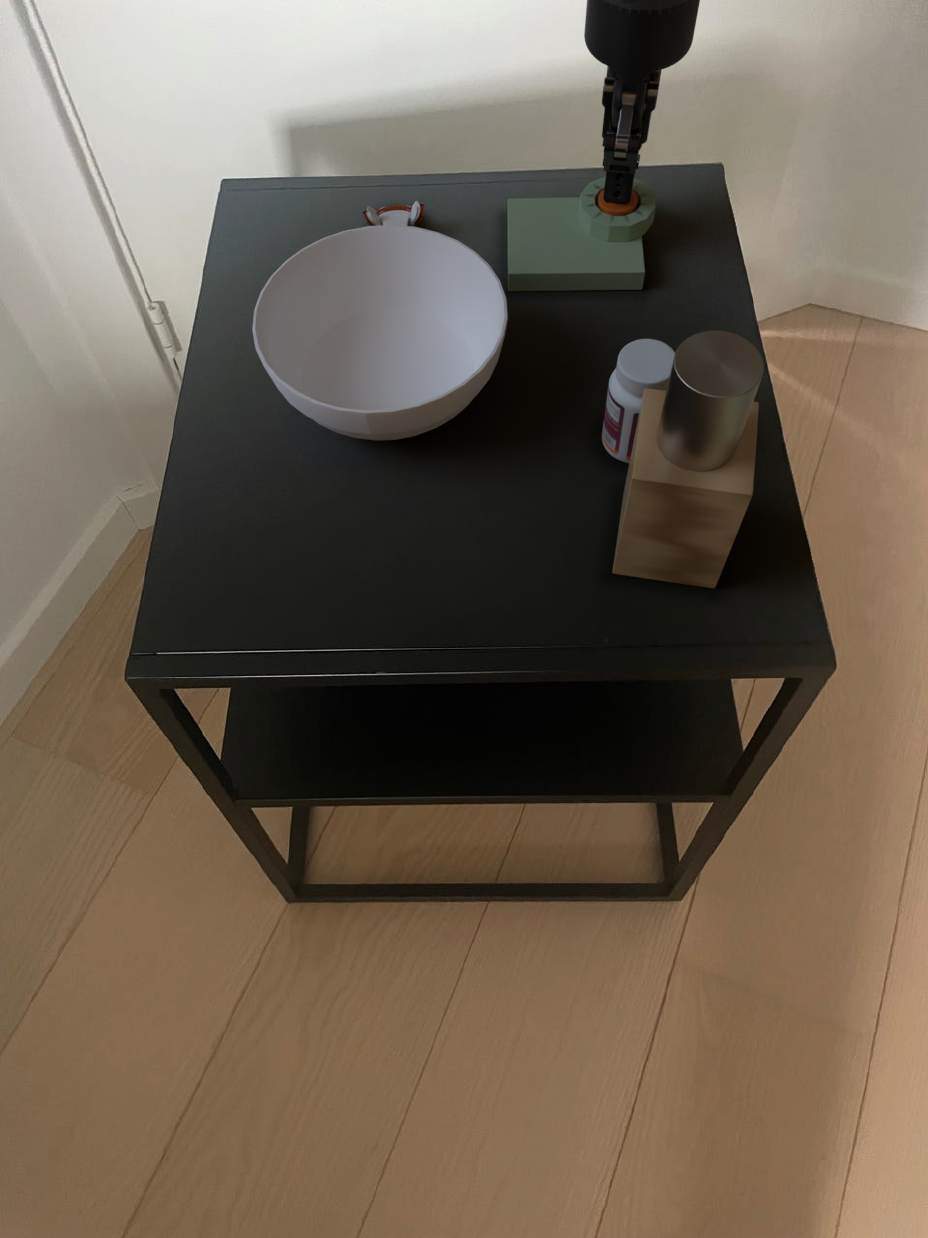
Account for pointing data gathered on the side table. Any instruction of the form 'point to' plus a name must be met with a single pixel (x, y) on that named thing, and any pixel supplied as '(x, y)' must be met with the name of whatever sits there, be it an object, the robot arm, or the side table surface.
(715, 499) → the block
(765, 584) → the side table surface
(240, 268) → the side table surface
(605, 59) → the robot arm
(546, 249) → the green board with knob
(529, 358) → the side table surface
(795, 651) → the side table surface
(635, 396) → the pill bottle
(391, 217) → the toy car
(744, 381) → the spice tin
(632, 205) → the button
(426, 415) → the bowl
